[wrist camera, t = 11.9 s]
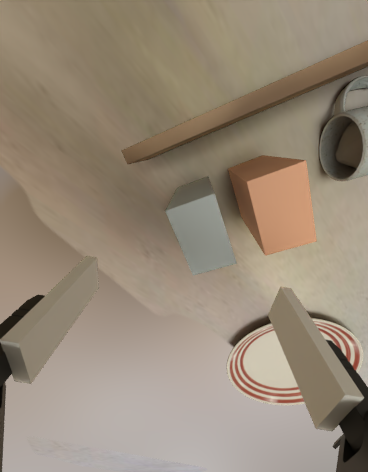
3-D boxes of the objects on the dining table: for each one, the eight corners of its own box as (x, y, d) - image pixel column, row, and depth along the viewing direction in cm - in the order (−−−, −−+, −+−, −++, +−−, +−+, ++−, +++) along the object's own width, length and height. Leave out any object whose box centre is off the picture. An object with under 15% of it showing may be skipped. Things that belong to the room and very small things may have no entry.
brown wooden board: (143, 149, 28) (121, 150, 20) (402, 36, 21) (527, -32, 13) (147, 159, 28) (127, 164, 20) (401, 52, 22) (521, -5, 14)
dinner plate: (274, 287, 37) (281, 300, 34) (384, 340, 40) (399, 355, 37) (203, 366, 47) (203, 381, 44) (294, 402, 51) (301, 418, 48)
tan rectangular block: (227, 168, 28) (246, 181, 17) (262, 155, 27) (306, 160, 16) (241, 217, 31) (265, 255, 20) (273, 207, 30) (316, 241, 19)
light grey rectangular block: (177, 187, 30) (165, 211, 19) (208, 176, 29) (214, 193, 18) (194, 233, 33) (193, 275, 22) (223, 223, 32) (236, 263, 21)
